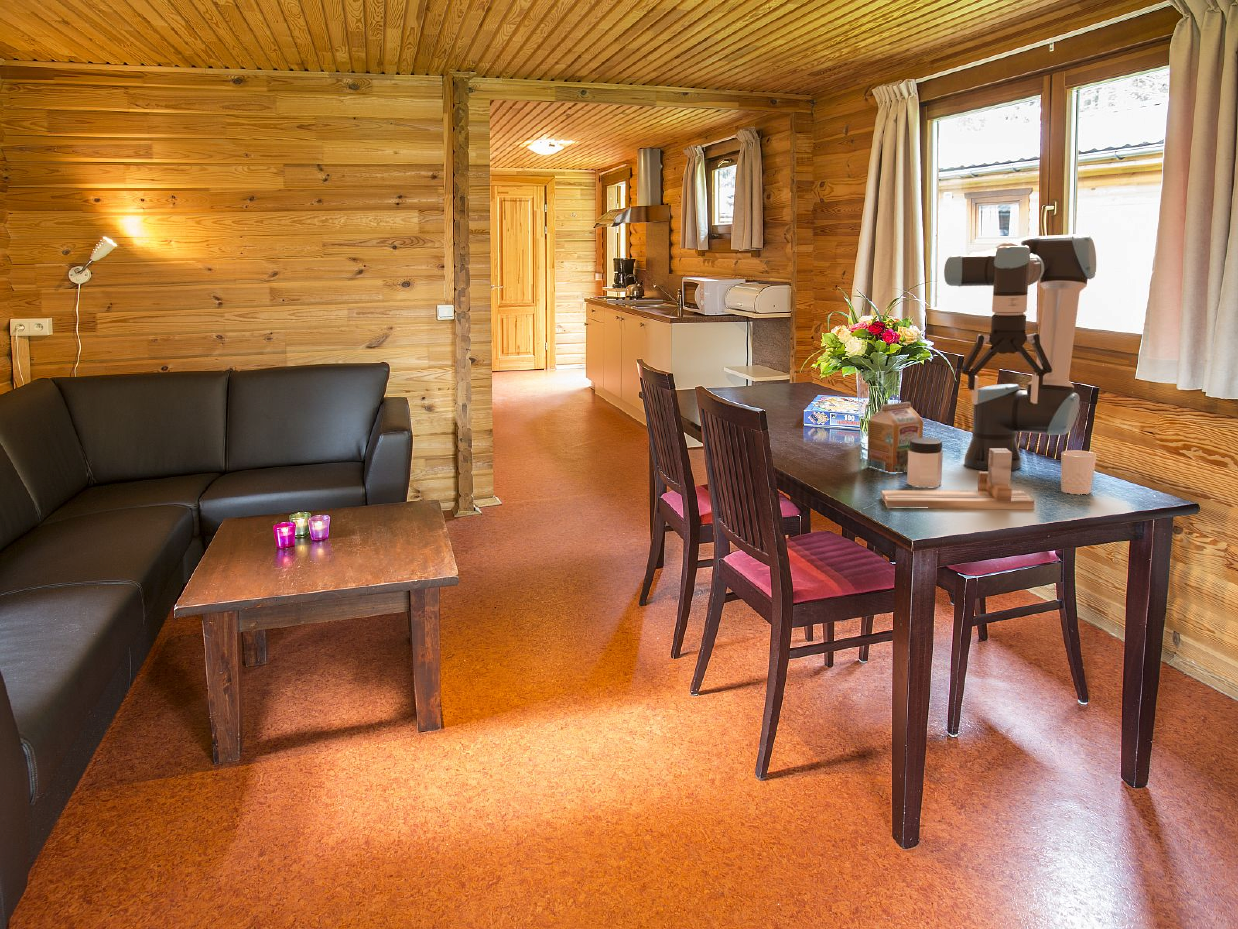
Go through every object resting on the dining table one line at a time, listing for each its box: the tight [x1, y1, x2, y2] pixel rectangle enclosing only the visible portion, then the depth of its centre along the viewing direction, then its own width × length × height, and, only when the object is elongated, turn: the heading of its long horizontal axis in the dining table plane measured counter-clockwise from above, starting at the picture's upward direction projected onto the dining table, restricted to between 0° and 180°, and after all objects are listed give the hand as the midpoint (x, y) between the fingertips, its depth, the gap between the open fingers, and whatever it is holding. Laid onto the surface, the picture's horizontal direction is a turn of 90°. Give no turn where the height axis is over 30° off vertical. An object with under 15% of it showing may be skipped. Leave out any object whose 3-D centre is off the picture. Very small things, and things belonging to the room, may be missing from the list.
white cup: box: [1060, 449, 1097, 496], centre depth 235 cm, size 8×8×10 cm
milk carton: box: [866, 401, 924, 472], centre depth 265 cm, size 11×11×19 cm
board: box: [880, 489, 1035, 510], centre depth 229 cm, size 10×34×2 cm, turn 82°
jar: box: [906, 437, 944, 488], centre depth 246 cm, size 9×8×12 cm
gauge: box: [977, 448, 1013, 501], centre depth 227 cm, size 14×6×13 cm, turn 172°
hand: (1003, 403), depth 223 cm, fingers open, 13 cm apart
